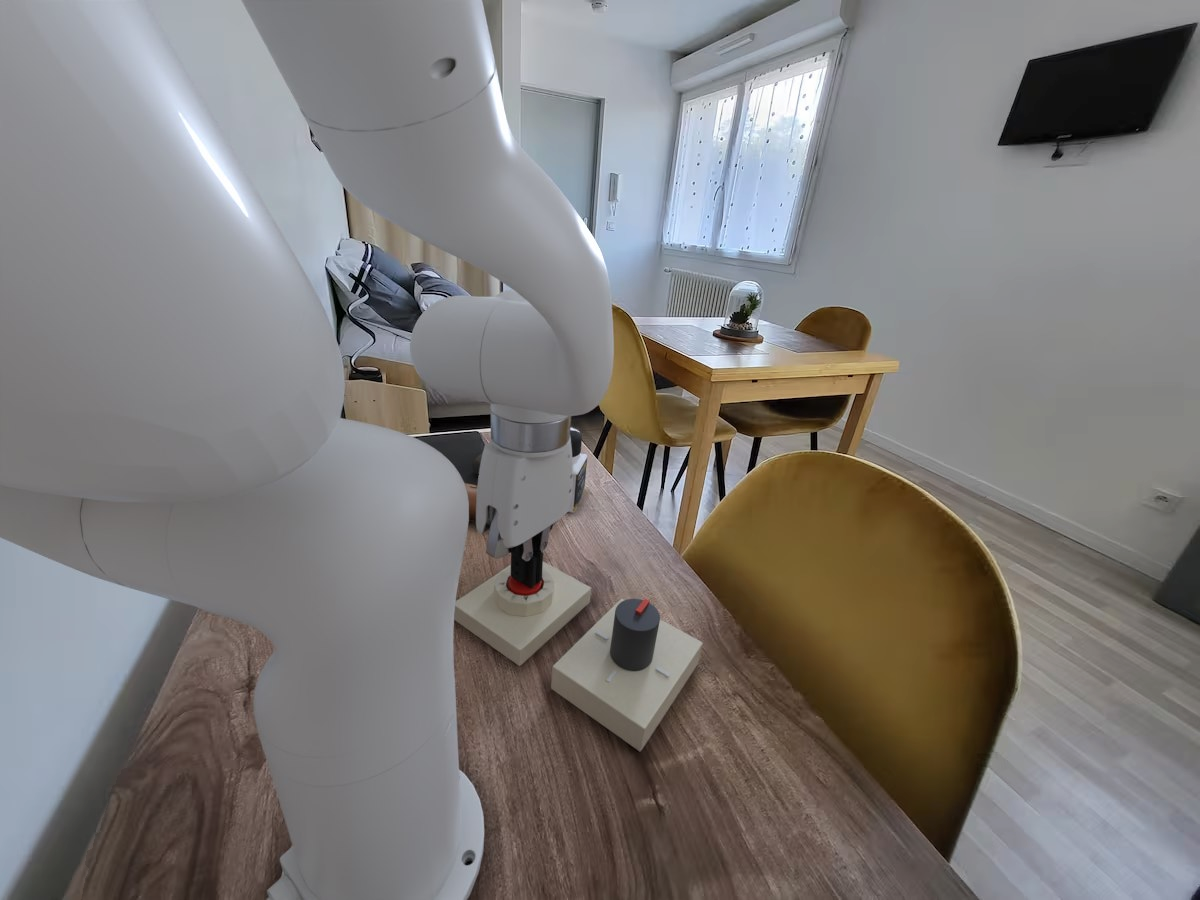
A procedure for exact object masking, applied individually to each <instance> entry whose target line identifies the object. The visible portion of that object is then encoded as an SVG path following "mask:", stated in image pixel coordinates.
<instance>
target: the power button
mask: <svg viewBox="0 0 1200 900" xmlns="http://www.w3.org/2000/svg"><path fill="white" fill-rule="evenodd" d="M508 590H509V591H510V592H512V593H514V594H515V595H521V596H529V595H533V594H536V593H538V592H539V591H540V590H541V581H540V582H539V583H536V584H535V586H534V587H532V588H529V587H527V586H526V585H524V584H522V583H520V582H518V581H517V580H515V579H514V578H512V576H511V577H510V579H509V584H508Z"/></svg>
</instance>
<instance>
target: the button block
mask: <svg viewBox="0 0 1200 900" xmlns="http://www.w3.org/2000/svg"><path fill="white" fill-rule="evenodd" d="M510 577H511V564H509V565H508V566H506V567H505V568H503V569H502V570H500V571H499V572H497V573H495V574H494V575H493V576H491V577H490V578H489V579H487V580H485V581H484V582H482V583H481V584H479V585H478V586H476V587H475V588H474V589H472V590H470V591H469V592H467V593H466V594H465V595H463V596H461V597H460V598H458V599H456V602H455V611H454V622H457V623H458V624H459V625H461V626H462V627H463V628H464V629H466V630H468V631H469V632H471V633H472V634H473V635H475V636H476V637H478V638H479V639H480V640H482V641H483V642H485V643H486V644H488V645H489V646H490V647H492V648H493V649H494V650H496V651H497V652H499V653H500V654H502V655H503V656H504V657H506V658H507V659H508V660H510V661H512V662H513V663H514V664H515V665H517V666H518V667H521V666H522V665H523V664H524V663H525V662H526V661H527V660H528V659H530V658H531V657H532V656H533V655H535V653H536V652H537V651H538V650H539V649H541V648H542V647H543V646H544V645H545V644H546V643H547V642H549V640H550V639H552V638H553V637H554V636H555V635H556V634H557V633H558V632H559V631H560V630H561V629H562V628H564V627H565V626H566V625H567V624H568V623H569V622H570V621H571V620H572V619H574V618H575V617H576V616H577V615H578V614H579V613H580V612H581V611H582V610H584V608H585V607H587V606H588V605H589V604H590V603H591V595H592V587H590V586H589V585H587V584H585V583H583V582H582V581H579V580H578V579H576V578H574V577H572V576H571V575H568V574H567V573H565V572H564V571H562V570H560V569H558V568H556V567H554V566H552V565H551V564H549V563H547V562H545V561H543V566H542V580H541V590H540V591H539V592H538V593H536V594H533V595H529V596H521V595H515V594H514V593H512V592H510V591H509V590H508V584H509V579H510Z"/></svg>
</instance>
